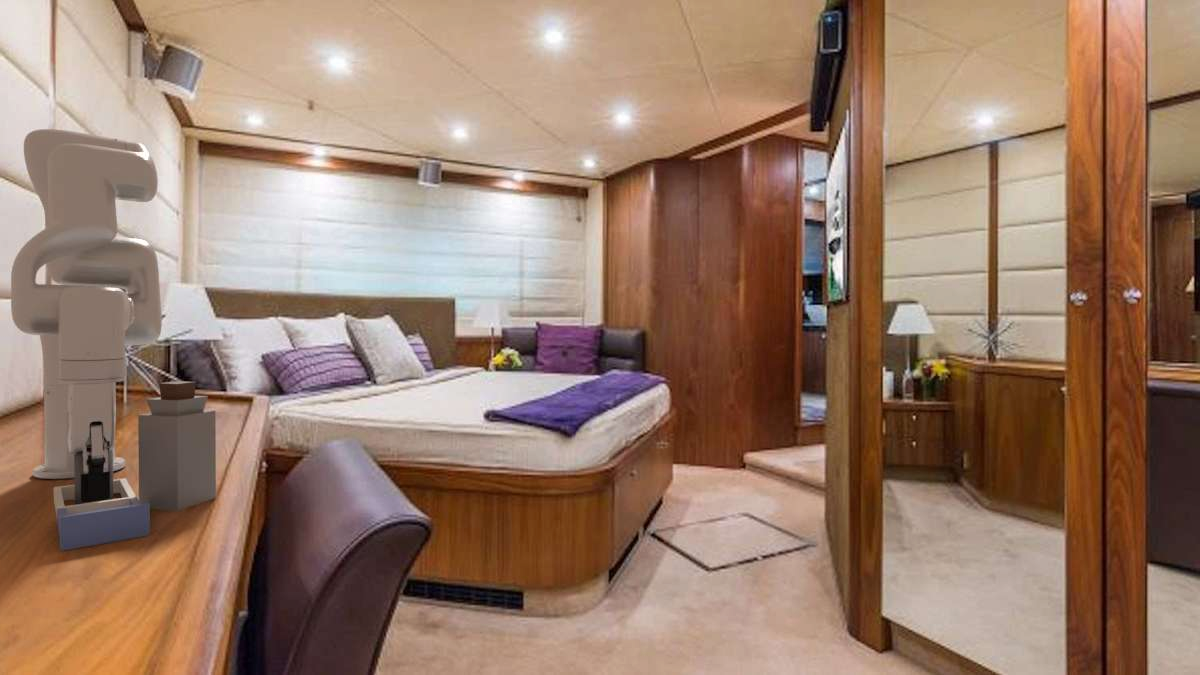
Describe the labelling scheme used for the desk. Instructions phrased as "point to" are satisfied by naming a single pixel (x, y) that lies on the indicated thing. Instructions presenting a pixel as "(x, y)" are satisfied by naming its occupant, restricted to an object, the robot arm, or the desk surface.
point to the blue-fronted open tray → (100, 518)
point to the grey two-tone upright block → (79, 470)
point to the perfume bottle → (177, 449)
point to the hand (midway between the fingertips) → (94, 495)
